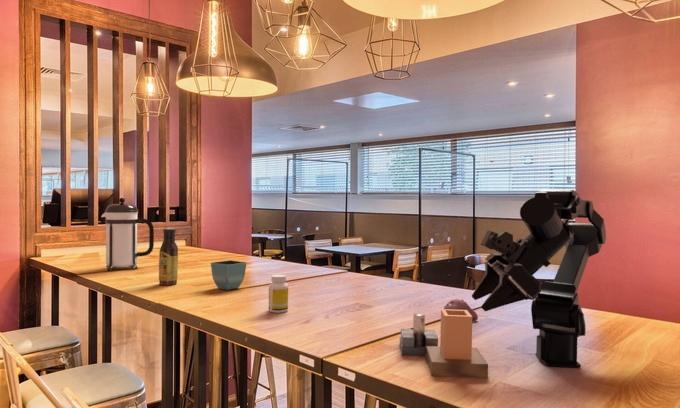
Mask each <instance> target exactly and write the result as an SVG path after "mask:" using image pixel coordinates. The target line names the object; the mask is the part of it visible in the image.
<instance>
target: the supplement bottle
mask: <svg viewBox="0 0 680 408" xmlns="http://www.w3.org/2000/svg"><path fill="white" fill-rule="evenodd" d="M286 280H287V275H285V274H274V275H271V283H269V284H268V311H269V312H270V313H275V314H276V313H277V314H278V313H279V314H280V313H286V312H287V311H288V310H289V284H288V283H286Z"/></svg>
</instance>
